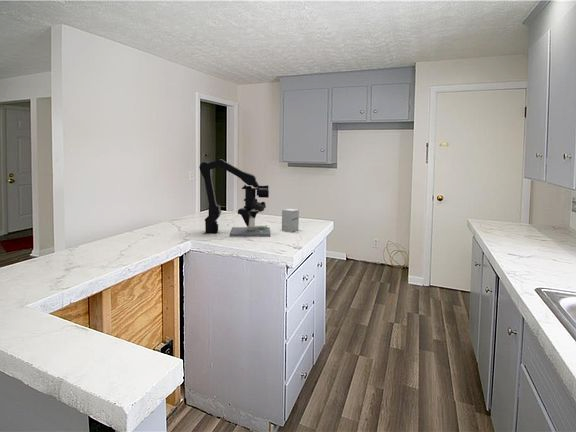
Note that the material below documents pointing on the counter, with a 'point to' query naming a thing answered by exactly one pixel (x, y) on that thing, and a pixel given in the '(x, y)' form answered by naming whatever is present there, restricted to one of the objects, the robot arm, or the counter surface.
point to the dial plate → (250, 232)
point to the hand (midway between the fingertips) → (250, 224)
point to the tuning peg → (253, 224)
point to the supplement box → (290, 220)
